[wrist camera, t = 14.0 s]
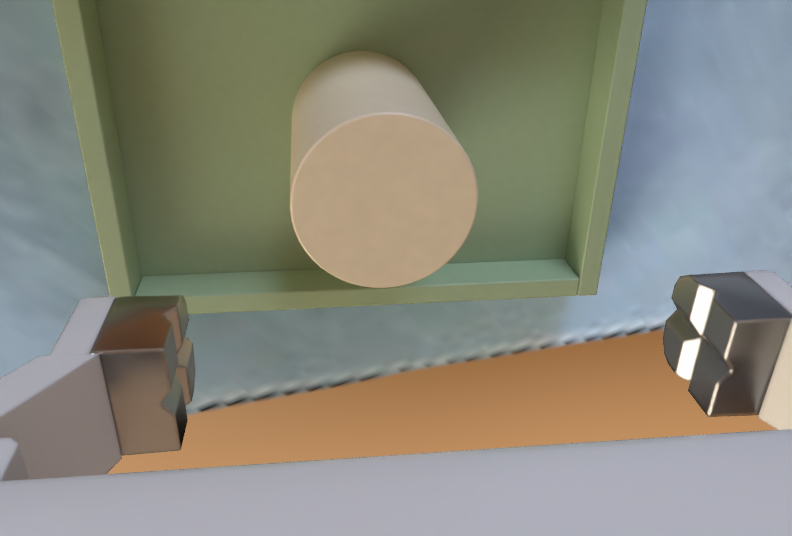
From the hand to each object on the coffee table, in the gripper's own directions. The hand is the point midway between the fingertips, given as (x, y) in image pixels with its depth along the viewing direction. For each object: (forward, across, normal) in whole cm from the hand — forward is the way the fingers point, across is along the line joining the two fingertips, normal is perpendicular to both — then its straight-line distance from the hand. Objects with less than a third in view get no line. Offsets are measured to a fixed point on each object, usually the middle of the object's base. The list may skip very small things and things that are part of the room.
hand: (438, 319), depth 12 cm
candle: (+15, 0, +1) cm, 15 cm away
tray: (+16, 0, +1) cm, 16 cm away
